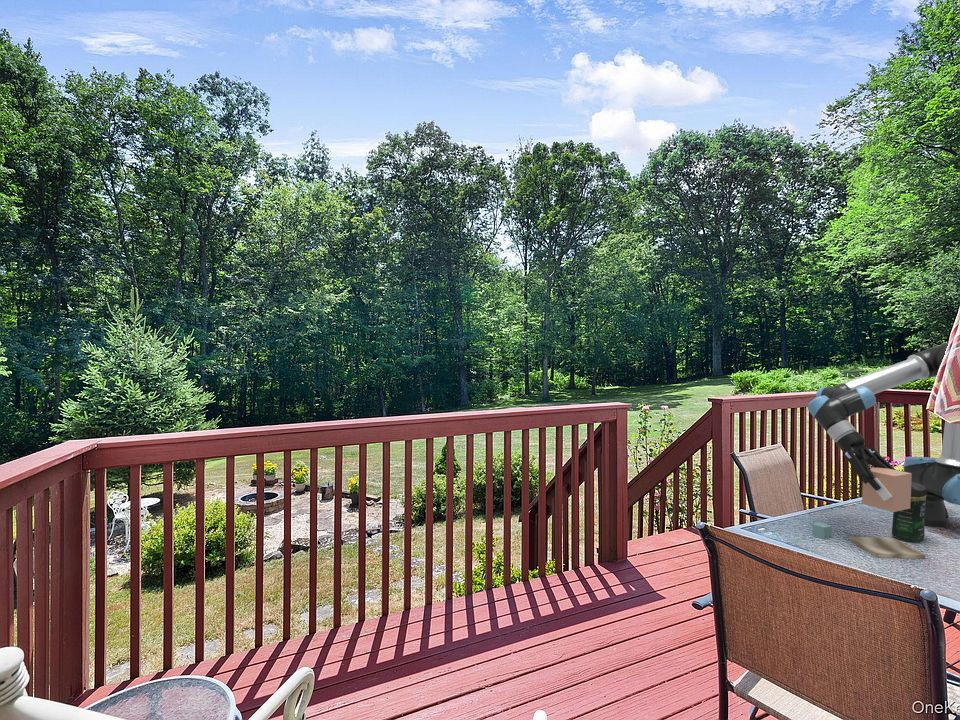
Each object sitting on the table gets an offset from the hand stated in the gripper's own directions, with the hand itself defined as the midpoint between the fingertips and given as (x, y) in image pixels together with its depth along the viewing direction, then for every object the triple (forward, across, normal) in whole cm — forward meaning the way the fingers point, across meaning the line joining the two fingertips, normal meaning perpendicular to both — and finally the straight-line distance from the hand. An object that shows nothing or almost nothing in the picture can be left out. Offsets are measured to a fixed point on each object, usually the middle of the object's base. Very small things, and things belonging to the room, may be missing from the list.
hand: (897, 496), depth 169 cm
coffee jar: (+9, -18, -16) cm, 26 cm away
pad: (+10, 0, -14) cm, 18 cm away
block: (-1, +7, -26) cm, 27 cm away
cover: (0, 0, -5) cm, 5 cm away
